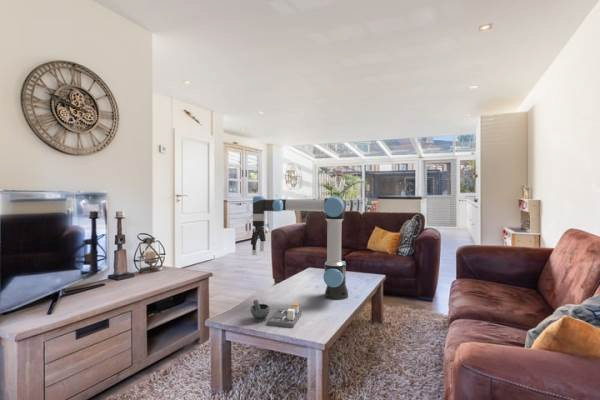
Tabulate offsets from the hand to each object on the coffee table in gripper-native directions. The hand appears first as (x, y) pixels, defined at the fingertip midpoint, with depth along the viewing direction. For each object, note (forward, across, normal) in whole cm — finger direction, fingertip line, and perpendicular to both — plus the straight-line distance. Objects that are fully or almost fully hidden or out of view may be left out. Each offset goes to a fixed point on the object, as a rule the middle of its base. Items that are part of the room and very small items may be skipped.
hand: (258, 253), depth 205 cm
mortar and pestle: (+28, +37, +15) cm, 49 cm away
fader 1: (+26, +37, +32) cm, 55 cm away
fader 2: (+26, +28, +32) cm, 49 cm away
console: (+28, +33, +28) cm, 51 cm away
